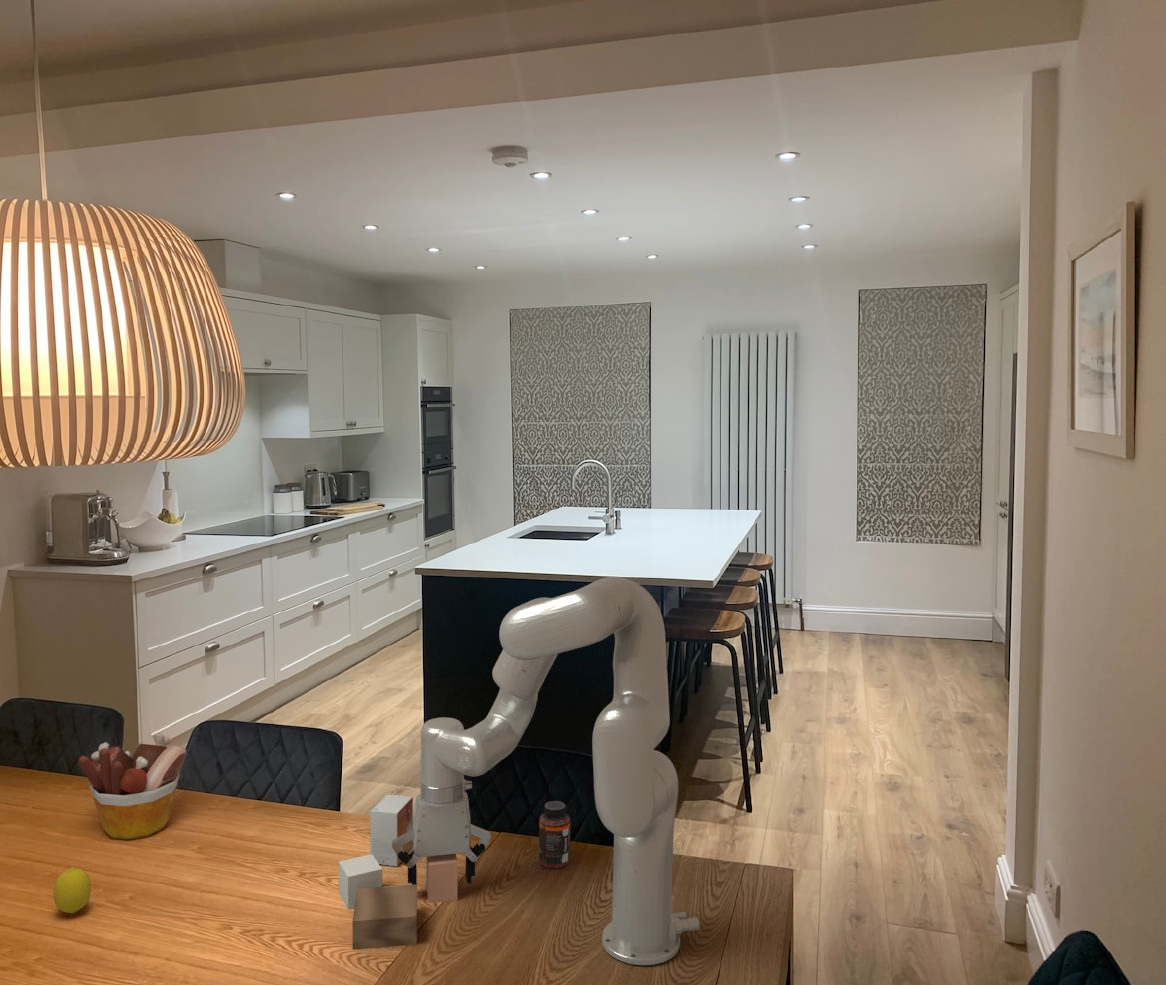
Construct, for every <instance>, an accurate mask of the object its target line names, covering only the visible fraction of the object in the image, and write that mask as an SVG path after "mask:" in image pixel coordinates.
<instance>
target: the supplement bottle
mask: <svg viewBox="0 0 1166 985" xmlns="http://www.w3.org/2000/svg"><path fill="white" fill-rule="evenodd" d="M566 808H567V807H566V804H565V803H564V802H563V801H558V800H554V801H553V800H552V801H547V802H545V804H544V812H543V813H542V814H541V815H540V817H539V821H538V823H539V824H538V825H539V826H538V830H539V831H538V862H539V864H540V865H541V866H543V867H545V868H546V869H547V868H548V869H561V868H564V867H566V866H567V865H569V863H570V860H571V817H570V816H569V814H567V810H566Z"/></svg>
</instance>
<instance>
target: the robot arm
mask: <svg viewBox="0 0 1166 985" xmlns="http://www.w3.org/2000/svg"><path fill="white" fill-rule="evenodd" d="M498 634H499V642H500V645H501V647H502V651H501V653H499V654H500V655H499V656H498V659H497V660H496V662H495V663H494V664H495V665H494V666H493V668H492V678H493V681H494V682H495V684H496V685H497V687H499V691H498V693H497V696H496V698H495V700H494V701H493V705H492V706H491V708H490V710H489V712H488V714H487V715H486V717H485V718H484V719H483V720H481V721H480V722H478V723H476V724H474V726H472V727H469V728H467V729H465V728H464V725H463V723H462V722H461V721H460V720H458V719H457V718H454V717H444V716H443V717H436V718H431V719H428V720H427V721H425V722H424V723H423V725H422V726H421V729H420V786H419V787H420V788H419V789H420V793H418V794H417V795H416V797H415V801H414V804H413V805H414V807H413V825H412V830H410V831H408V832H407V833H405V834H403V835H402V836H400V837H398V838H396V839H395V840H393V841H392V848H393V849H394V851H395V853H396V854H397V856H398V858H399V859H400V860H401V862H402V863H403V864H404V865H405V866H406V868H407V884H411V885H415V884H417V883H418V881H417V880H418V878H417V876H418V875H417V874H418V872H417V871H418V868H417V867H418V866H417V863H418V862H419V861H420V859H421V858H426V857H430V856H441V855H451V854H456V855H459V854H464V855H465V878H466V884H468V885H471V884H472V881H473V880H472V877H473V878H474V877H476V862H477V861H478V859H479V857H481V854H483V853H484V852H485V850H486V847H487V845H488V844H489V841H490V840H491V838H492V835H491V832H490V831H488V830H486V829H484V828H481V827H478V826H476V825H474V824H471V812H470V805H469V797H468V792H466V791H468V790H473V789H472V788H473V783H472V782H473V781H472V780H470V781H469V780H466V779H465V778H464V777H465V776H468V777H480V776H481V775H482V776H483V775H484V774H486V773H488V771H489V770H491V769H492V768H494V767H495V766H496V765H497V764H498V763H500V762H502V760H504V759H505V758H506V757H508V756H509V755H510V754H512V752H513V751H515V749H516V747H517V746H518V745H519V743H520V741H521V738H522V737H523V736H524V733H525V731H526V730H527V728H528V726H529V724H530V722H531V720H532V718H533V716H534V712H535V710H536V706H537V701H538V695H539V694H538V693H539V691H540V689H541V687H542V686H543V683H544V681H545V679H546V677H547V675H548V673H549V671H550V669H551V668H552V666H553V665H554V662H555V660H556V658H557V657H558V654H561V653H565V652H569V651H573V650H577V649H579V648H583V647H587V646H591V645H592V644H593V645H594V644H595V643H598V642H601V641H603V640H605V639H607V638H608V637H609V636H611V635H612V634H614V650H613V659H612V669H613V698H612V701H611V702H610V703H609V704H607V706H605V707H604V708H603V710H601V712H600V713H599V715H598V716H597V718H596V720H595V723H594V726H593V731H592V740H591V742H592V743H591V744H592V746H591V748H592V766H593V790H594V802H595V808H596V811H597V814H598V815H597V816H598V817H599V819H600V821H601V823H602V824H603V825H604V827H605V828H606V829H607V830H608V831H609V832H610V833H611V834H613V860H612V861H613V864H612V901H611V904H612V905H611V906H612V907H611V910H612V911H611V912H612V913H611V922H609V923H607V925H605V927H604V929H603V931H602V935H601V942H602V946H603V949H604V950H605V951H606V952H607V953H608V954H609V955H610V956H611V957H613V958H614V959H616V960H619V961H620V962H622V963H626V964H629V965H636V966H653V965H659V964H662V963H665V962H667V961H669V960H671V959H672V958H673V957H674V956H676V954H678V953H679V949H680V947H681V938H680V935H682V933H683V932H692V931H693V932H694V931H700V921H699V918H698V917H697V916H695V917H688V918H687V913H686V912H685V911H680V912H675V913H673V912H672V890H673V886H672V885H673V857H674V856H673V854H674V833H675V832H674V831H675V822H676V821H675V819H676V814H677V813H676V812H677V804H678V795H679V779H678V774H677V770H676V767H675V766H674V764H673V762H672V761H671V760H670V758H669V757H668V756H667V755H665V754H664V753H663V752H660V751H658V750H655V748H656V747H657V746H658V745H659V744H660V743H661V742H662V741H663V739H664V738H665V737H666V735H667V733H668V730H669V728H670V723H671V721H670V719H671V718H670V716H671V715H670V703H669V682H668V680H669V679H668V669H667V668H668V667H667V648H666V647H667V646H666V645H667V644H666V631H665V624H664V618H663V615H662V613H661V609H660V608H659V606H658V604H657V602H656V600H655V599H654V597H653V596H652V594H651V593H650V592H649V591H647V590H646V588H645V587H643V586H641V585H640V584H638V583H637V582H635V581H633V580H631V579H628V578H627V577H626V578H625V577H621V576H608V577H603V578H601V579H598V580H595V581H593V582H591V583H589V584H588V585H585V586H583V587H581V588H579V589H576V590H574V591H570V592H567V593H564V594H561V595H558V596H554V597H539V598H535V599H531V600H528V602H527V601H526V602H525V603H522V604H520V605H519V606H516V607H514V608H512V609H511V610H510V611H509V612H508V613H507V614H505V616H504V617H503V620H502V621H501V624H500V627H499V633H498ZM472 836H475V837H477V838H479V841H478V842H477V843H476V844H475V845H474V846H472ZM411 840H412V845H413V848H412V850H411V851H410V852H409V853H407V852H406V851H405V850H403V848H402V846H403V845H405V844H406V843H408V842H410V841H411ZM417 885H418V884H417Z"/></svg>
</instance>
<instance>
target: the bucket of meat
mask: <svg viewBox="0 0 1166 985" xmlns="http://www.w3.org/2000/svg"><path fill="white" fill-rule="evenodd" d="M152 739H153V742H154V744H148V743H139V745H138V747H137V749H135V752H134V753H133V756H132V757H131V752H130V751H129V750H127V751H125V750H124V749H122V747H121V746H119V745H116V746H115V745H113V746H110V744H109V743H108V742H106V741H105V742H103V743H101V744H99V746H98V749H97V750H96V751H95V752H93V753H92V754H91V755H90V757H89V756H85V755H82V756H80V757H79V758H78V761H77V765H78V766H79V768H80V769H81V771H82V772H83V773H84V775H85V777H86V778H87V780H88V781H89V783H90V784H89V789H90V791H91V794H92V797H93V800H94V804H95V808H96V811H97V814H98V818H99V821H100V825H101V828H102V829H103V830H104V832H106V834H107V835H109V837H110V838H112V839H114V840H124V841H131V840H137V839H143V838H147V837H150V836H152V835H154V834H157V833H158V832H160V831H162V830H163V828H164V827H165V826H166V825H167V823H168V822H169V819H171V814H172V809H173V805H174V801H175V795H176V790H177V786H178V781H179V778H180V773H181V772H180V771H181V768H182V766H183V763H184V761H185V758H186V756H187V749H186V748H184V747H183V748H182V746H181V747H180V746H178V745H175V744H170V743H171V738H170V737H167V736H164V735H163V733H162V732H157V733H154V734H153V735H152ZM169 744H170V745H169ZM167 745H169V746H167Z"/></svg>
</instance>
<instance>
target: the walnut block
mask: <svg viewBox="0 0 1166 985" xmlns="http://www.w3.org/2000/svg"><path fill="white" fill-rule="evenodd" d="M352 915H353V916H352V950H364V949H376V948H387V947H400V946H412V945H417V940H418V939H417V933H418V932H417V931H418V929H417V928H418V927H417V926H418V923H417V921H418V884H415V885H412V884H405V885H404V884H403V885H390V886H388V885H387V886H382V887H373V888H360V889H357V892H356V899H355V906H354V909H353V914H352Z"/></svg>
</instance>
